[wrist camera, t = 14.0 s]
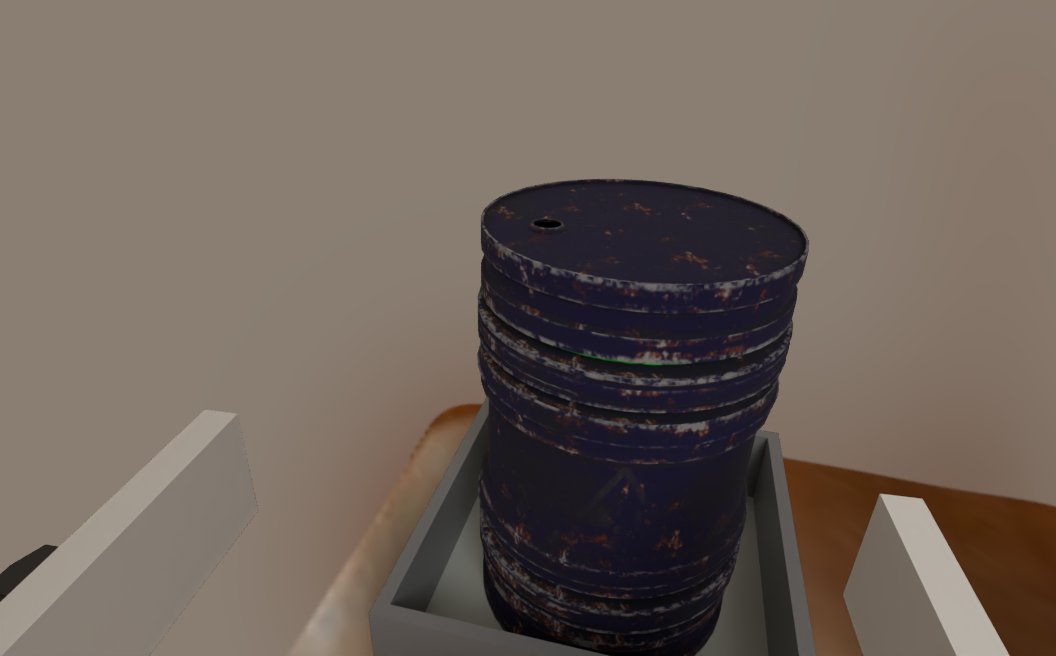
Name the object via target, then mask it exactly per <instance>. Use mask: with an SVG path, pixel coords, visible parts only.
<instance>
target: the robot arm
mask: <svg viewBox="0 0 1056 656" xmlns="http://www.w3.org/2000/svg"><path fill="white" fill-rule="evenodd" d="M257 511H258V507H257V502H256V498H255V493H254V488H253V484H252V479H251V475H250V470H249V465H248V460H247V456H246V451H245V447H244V442H243V437H242V432H241V428H240V423H239V419H238V415H237V414H236V413H227V412H219V411H211V410H204V411H203V412H202V413H201V414H200V415H199V416H197V417H196V418H195V419H194V420H193V421H192V422H191V423H190V424H189V425H188V426H187V427H186V428H185V429H184V430H183V431H182V432H180V433H179V434H178V435H177V436H176V437H175V438H174V439H173V440H172V441H171V442H170V443H169V444H168V445H167V446H166V447H164V448H163V449H162V450H161V451H160V452H159V453H158V454H157V455H156V456H155V457H154V458H153V459H152V460H151V461H150V462H149V463H147V464H146V465H145V466H144V467H143V468H142V469H141V470H140V471H139V472H138V473H137V474H136V475H135V476H134V477H133V478H132V479H131V480H129V481H128V482H127V483H126V484H125V485H124V486H123V487H122V488H121V489H120V490H119V491H118V492H117V493H116V494H115V495H113V496H112V497H111V498H110V499H109V500H108V501H107V502H106V503H105V504H104V505H103V506H102V507H101V508H100V509H99V510H98V511H96V512H95V513H94V515H92V516H91V517H90V518H89V519H88V520H87V521H86V522H85V523H84V524H83V525H82V526H81V527H79V528H78V529H77V530H76V531H75V532H74V533H73V534H72V535H71V536H70V537H69V538H68V539H67V540H66V541H65V542H63V543H62V544H61V545H60V546H59V547H57V546H51V545H44V546H42V547H41V548H39V549H37V550H35V551H34V552H32V553H30V554H29V555H27V556H25V557H24V558H22V559H20V560H18V561H17V562H15V563H13V564H12V565H10V566H9V567H8V568H7V569H6V570H5V571H3V572H2V573H1V574H0V656H149V655H150V654H151V653H152V651H153V650H154V649H155V647H156V646H157V645H158V643H159V642H160V641H161V639H162V638H163V637H164V635H165V634H166V633H167V631H168V630H169V629H170V627H171V626H172V625H173V623H174V622H175V621H176V619H177V618H178V617H179V615H180V614H181V613H182V611H183V610H184V609H185V607H186V606H187V605H188V603H189V602H190V601H191V599H192V598H193V597H194V595H195V594H196V593H197V591H198V590H199V589H200V587H201V586H202V585H203V583H204V582H205V581H206V579H207V578H208V577H209V575H210V574H211V573H212V571H213V570H214V569H215V567H216V566H217V565H218V563H219V562H220V561H221V559H222V558H223V557H224V555H225V554H226V553H227V551H228V550H229V549H230V547H231V546H232V545H233V543H234V542H235V541H236V539H237V538H238V537H239V535H240V534H241V533H242V531H243V530H244V529H245V527H246V526H247V525H248V523H249V522H250V521H251V519H252V518H253V517H254V515H255V514H256V513H257ZM843 596H844V599H845V602H846V605H847V608H848V611H849V614H850V617H851V620H852V623H853V626H854V629H855V632H856V635H857V639H858V642H859V645H860V648H861V651H862V654H863V656H1009V654H1008V652H1007V650H1006V648H1005V647H1004V645H1003V643H1002V641H1001V639H1000V638H999V636H998V634H997V632H996V630H995V628H994V627H993V625H992V623H991V621H990V619H989V618H988V616H987V614H986V612H985V610H984V609H983V607H982V605H981V603H980V601H979V600H978V598H977V596H976V594H975V592H974V591H973V589H972V587H971V585H970V583H969V582H968V580H967V578H966V576H965V574H964V573H963V571H962V569H961V567H960V565H959V563H958V562H957V560H956V558H955V556H954V554H953V553H952V551H951V549H950V547H949V545H948V544H947V542H946V540H945V538H944V536H943V535H942V533H941V531H940V529H939V527H938V526H937V524H936V522H935V520H934V518H933V517H932V515H931V513H930V511H929V509H928V507H927V506H926V504H925V502H924V500H923V499H920V498H911V497H903V496H895V495H887V494H879V497H878V500H877V503H876V505H875V508H874V511H873V514H872V516H871V519H870V522H869V525H868V527H867V530H866V533H865V536H864V538H863V541H862V544H861V547H860V549H859V552H858V555H857V558H856V560H855V563H854V566H853V568H852V571H851V574H850V577H849V579H848V582H847V585H846V588H845V590H844V593H843Z"/></svg>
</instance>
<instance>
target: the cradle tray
mask: <svg viewBox="0 0 1056 656" xmlns="http://www.w3.org/2000/svg"><path fill="white" fill-rule="evenodd" d="M488 444H489V399H488V397H486V399H485V401H484V403H483V405H482V406H481V408H480V410H479V412H478V414H477V416H476V417H475V419H474V421H473V423H472V425H471V427H470V428H469V430H468V432H467V434H466V436H465V438H464V439H463V441H462V443H461V445H460V447H459V449H458V450H457V452H456V454H455V456H454V458H453V460H452V461H451V463H450V465H449V467H448V469H447V471H446V472H445V474H444V476H443V478H442V480H441V482H440V483H439V485H438V487H437V489H436V491H435V493H434V494H433V496H432V498H431V500H430V502H429V504H428V505H427V507H426V509H425V511H424V513H423V515H422V516H421V518H420V520H419V522H418V524H417V526H416V527H415V529H414V531H413V533H412V535H411V537H410V538H409V540H408V542H407V544H406V546H405V548H404V549H403V551H402V553H401V555H400V557H399V559H398V561H397V562H396V564H395V566H394V568H393V570H392V572H391V573H390V575H389V577H388V579H387V581H386V583H385V584H384V586H383V588H382V590H381V592H380V594H379V595H378V597H377V599H376V601H375V603H374V605H373V606H372V608H371V610H370V612H369V622H370V630H371V638H372V646H373V654H374V656H608V655H604V654H600V653H595V652H591V651H587V650H583V649H578V648H574V647H570V646H566V645H561V644H557V643H553V642H548V641H544V640H540V639H536V638H531V637H527V636H523V635H519V634H514V633H510V632H506V631H504V630H503V629H502V627H501V626H500V624H499V623H498V621H497V620H496V618H495V617H494V615H493V613H492V610H491V608H490V606H489V603H488V601H487V597H486V593H485V589H484V580H483V558H484V555H483V546H482V542H481V538H480V500H479V496H478V480H479V475H480V471H481V464H482V460H483V455H484V453H485V451H486V449H487V446H488ZM745 482H746V485H747V495H748V502H747V516H746V522H745V527H744V530H743V532H742V534H741V540H740V547H739V552H738V556H737V560H736V564H735V568H734V572H733V574H732V577H731V579H730V582H729V584H728V586H727V587H726V590H725V592H724V595H723V600H722V606H721V611H720V615H719V619H718V622H717V624H716V627H715V629H714V632H713V634H712V635H711V637H710V638H709V640H708V641H707V643H706V644H705V646H704V647H703V648H702V649H701V650H700V651H699V652H698V653H697V654H696V655H695V656H816V652H815V646H814V641H813V635H812V629H811V623H810V617H809V611H808V605H807V599H806V593H805V587H804V581H803V576H802V570H801V564H800V558H799V552H798V546H797V540H796V534H795V528H794V522H793V517H792V511H791V505H790V499H789V493H788V487H787V481H786V475H785V469H784V463H783V457H782V452H781V446H780V440H779V434H778V433H775V432H768V431H761V430H758V431H757V432H756V435H755V440H754V444H753V448H752V452H751V456H750V461H749V465H748V469H747V473H746V478H745Z"/></svg>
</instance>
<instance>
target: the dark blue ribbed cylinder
mask: <svg viewBox="0 0 1056 656" xmlns="http://www.w3.org/2000/svg"><path fill="white" fill-rule="evenodd" d="M481 246H482V251H483V253H484V257H483V259H482V262H481V288H480V292H479V294H478V331H479V337H480V340H481V343H480V347H479V350H478V367H479V370H480V372H481V382H482V385H483V388H484V391H485V394H486V396H487V397H488V399H489V444H488V446H487V449H486V451H485V453H484V455H483V460H482V464H481V471H480V475H479V480H478V496H479V500H480V538H481V542H482V546H483V555H484V558H483V580H484V589H485V593H486V597H487V601H488V603H489V606H490V608H491V610H492V613H493V615H494V617H495V618H496V620H497V621H498V623H499V624H500V626H501V627H502V629H503V630H504V631H506V632H510V633H514V634H519V635H523V636H527V637H531V638H536V639H540V640H544V641H548V642H553V643H557V644H561V645H566V646H570V647H574V648H578V649H583V650H587V651H591V652H595V653H600V654H604V655H608V656H695V655H696V654H697V653H698V652H699V651H700V650H701V649H702V648H703V647H704V646H705V644H706V643H707V641H708V640H709V638H710V637H711V635H712V634H713V632H714V629H715V627H716V624H717V622H718V619H719V615H720V611H721V606H722V600H723V595H724V592H725V590H726V587H727V586H728V584H729V582H730V579H731V577H732V574H733V572H734V568H735V564H736V560H737V556H738V552H739V547H740V540H741V534H742V532H743V530H744V527H745V522H746V516H747V502H748V495H747V485H746V482H745V478H746V473H747V469H748V465H749V461H750V456H751V452H752V448H753V444H754V440H755V435H756V432H757V431H758V430H759V429H760V428H761V427H762V426H763V425H764V423H765V421H766V419H767V417H768V415H769V413H770V410H771V408H772V407H773V405H774V402H775V400H776V398H777V396H778V390H779V380H778V377H779V375H780V373H781V371H782V368H783V367H784V364H785V361H786V355H787V353H788V349H789V345H790V340H791V337H792V330H793V322H792V316H793V312H794V308H795V304H796V300H797V286H796V285H797V283H798V282H799V280H800V278H801V277H802V275H803V271H804V267H805V263H806V259H807V255H808V250H809V240H808V238H807V236H806V234H805V232H804V231H803V230H802V229H801V228H800V227H799V225H797V224H796V223H795V222H793V221H792V220H791V219H789V218H788V217H786V216H784V215H783V214H781V213H779V212H777V211H775V210H773V209H771V208H768V207H766V206H763V205H761V204H758V203H756V202H753V201H750V200H747V199H744V198H741V197H737V196H734V195H730V194H726V193H722V192H718V191H713V190H708V189H704V188H699V187H692V186H687V185H681V184H673V183H665V182H655V181H643V180H625V179H588V180H571V181H560V182H553V183H546V184H540V185H535V186H531V187H526V188H523V189H520V190H516V191H513V192H510V193H508V194H505V195H503V196H501V197H499V198H497V199H496V200H494V201H493V202H491V203H490V204H489V205H488V206H487V207H486V208H485V209H484V211H483V213H482V216H481Z"/></svg>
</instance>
